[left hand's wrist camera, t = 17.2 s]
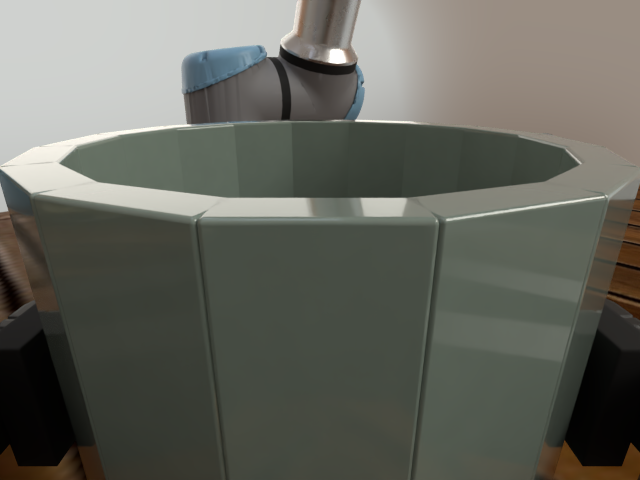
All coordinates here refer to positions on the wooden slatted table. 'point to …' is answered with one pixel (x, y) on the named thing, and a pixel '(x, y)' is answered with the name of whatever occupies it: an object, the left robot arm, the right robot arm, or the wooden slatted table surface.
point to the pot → (320, 295)
